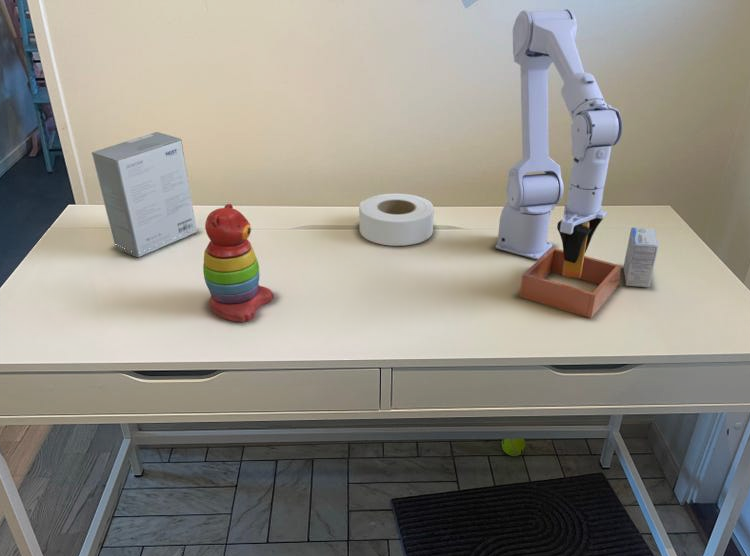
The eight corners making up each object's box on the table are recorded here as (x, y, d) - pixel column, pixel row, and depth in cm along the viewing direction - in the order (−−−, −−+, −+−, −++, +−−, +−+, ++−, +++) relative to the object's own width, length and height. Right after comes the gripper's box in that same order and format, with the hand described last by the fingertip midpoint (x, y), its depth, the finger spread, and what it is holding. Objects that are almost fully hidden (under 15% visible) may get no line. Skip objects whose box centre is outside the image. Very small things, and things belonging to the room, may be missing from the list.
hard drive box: (174, 223, 155) (158, 130, 143) (198, 232, 151) (183, 138, 140) (113, 248, 144) (90, 150, 133) (137, 259, 140) (116, 159, 129)
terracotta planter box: (519, 296, 130) (522, 274, 128) (549, 268, 140) (552, 247, 137) (591, 318, 124) (595, 295, 122) (616, 287, 134) (621, 265, 131)
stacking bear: (247, 324, 121) (234, 226, 111) (195, 313, 124) (179, 217, 114) (278, 295, 129) (269, 202, 119) (229, 285, 132) (216, 193, 122)
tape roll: (366, 213, 160) (365, 190, 157) (436, 218, 159) (437, 194, 155) (352, 243, 147) (351, 218, 144) (428, 249, 146) (429, 223, 143)
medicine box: (649, 288, 133) (659, 246, 128) (624, 286, 134) (633, 243, 129) (646, 269, 140) (655, 228, 135) (622, 267, 140) (631, 226, 135)
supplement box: (582, 271, 131) (591, 219, 125) (579, 279, 128) (589, 227, 122) (564, 268, 132) (572, 217, 126) (561, 276, 129) (569, 224, 123)
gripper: (594, 202, 113) (581, 278, 121) (624, 175, 123) (610, 247, 131) (553, 192, 116) (542, 267, 124) (585, 167, 127) (573, 238, 134)
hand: (574, 256), depth 128 cm, fingers closed on supplement box, 4 cm apart
